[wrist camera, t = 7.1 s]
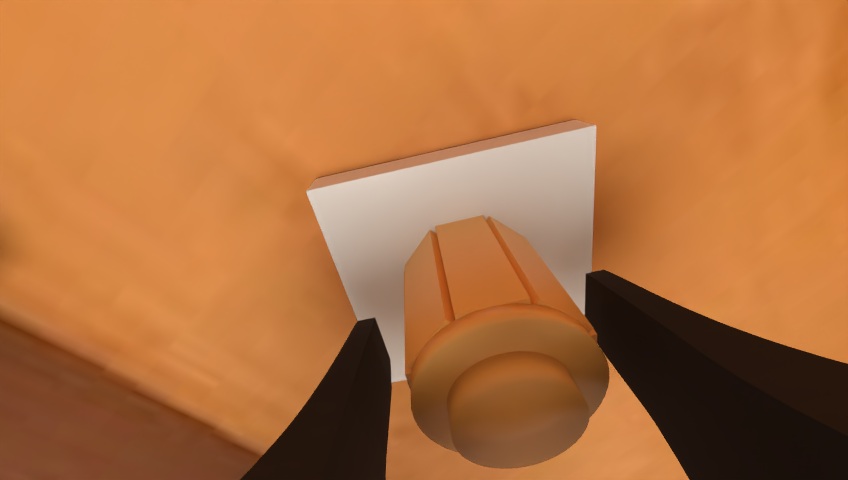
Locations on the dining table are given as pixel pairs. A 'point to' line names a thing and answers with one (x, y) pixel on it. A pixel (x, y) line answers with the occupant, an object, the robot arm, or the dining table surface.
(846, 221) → the dining table surface
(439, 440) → the ribbed domed knob
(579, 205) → the white base
